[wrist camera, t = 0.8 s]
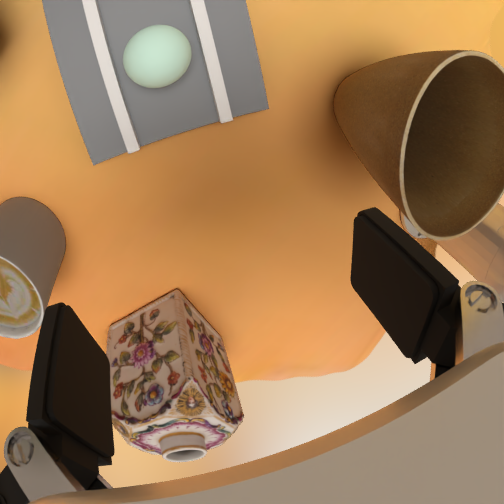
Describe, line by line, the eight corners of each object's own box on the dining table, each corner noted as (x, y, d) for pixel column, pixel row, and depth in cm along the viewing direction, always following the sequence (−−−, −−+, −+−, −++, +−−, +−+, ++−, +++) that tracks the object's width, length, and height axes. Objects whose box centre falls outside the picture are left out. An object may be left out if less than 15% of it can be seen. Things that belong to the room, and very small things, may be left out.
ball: (180, 21, 19) (185, 11, 15) (194, 75, 22) (202, 77, 18) (120, 40, 19) (110, 35, 15) (135, 94, 22) (130, 101, 18)
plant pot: (363, 14, 24) (488, 15, 11) (426, 111, 32) (530, 158, 19) (267, 104, 28) (361, 150, 15) (351, 191, 36) (441, 271, 23)
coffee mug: (-3, 184, 24) (-49, 234, 16) (75, 215, 29) (51, 275, 21) (-14, 279, 29) (-41, 338, 21) (52, 305, 33) (37, 368, 25)
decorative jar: (178, 284, 37) (203, 423, 23) (223, 335, 44) (259, 450, 30) (104, 325, 37) (102, 454, 23) (156, 367, 44) (172, 478, 30)
